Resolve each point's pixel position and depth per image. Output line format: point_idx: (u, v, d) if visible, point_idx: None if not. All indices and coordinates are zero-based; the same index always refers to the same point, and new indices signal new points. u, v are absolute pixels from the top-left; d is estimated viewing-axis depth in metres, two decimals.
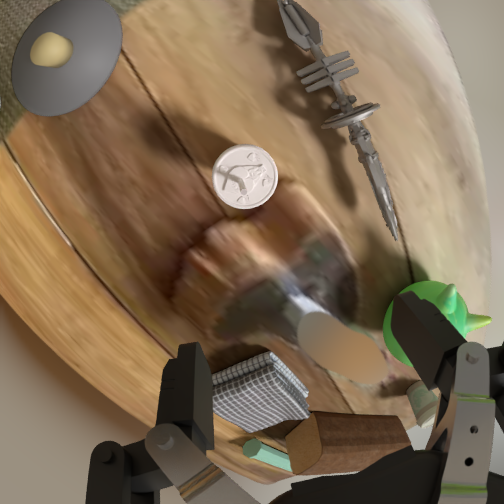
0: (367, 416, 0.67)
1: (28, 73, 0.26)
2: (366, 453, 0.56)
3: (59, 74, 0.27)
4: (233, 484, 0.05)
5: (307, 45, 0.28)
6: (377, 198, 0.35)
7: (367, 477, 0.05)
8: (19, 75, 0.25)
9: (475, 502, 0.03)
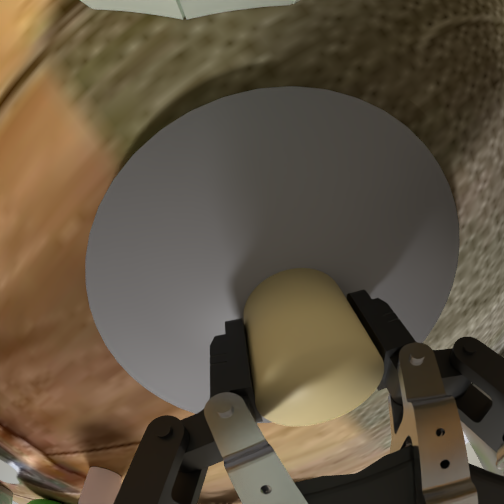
0: None
1: (263, 182, 0.10)
2: None
3: (218, 319, 0.12)
4: (279, 464, 0.05)
5: None
6: None
7: (367, 477, 0.05)
8: (270, 133, 0.09)
9: (475, 502, 0.03)
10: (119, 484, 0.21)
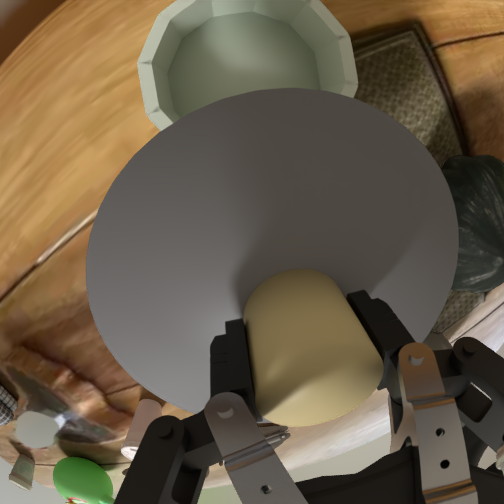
0: None
1: (263, 183, 0.10)
2: None
3: (218, 319, 0.12)
4: (279, 464, 0.05)
5: None
6: None
7: (366, 477, 0.05)
8: (270, 134, 0.09)
9: (475, 502, 0.03)
10: (161, 411, 0.39)
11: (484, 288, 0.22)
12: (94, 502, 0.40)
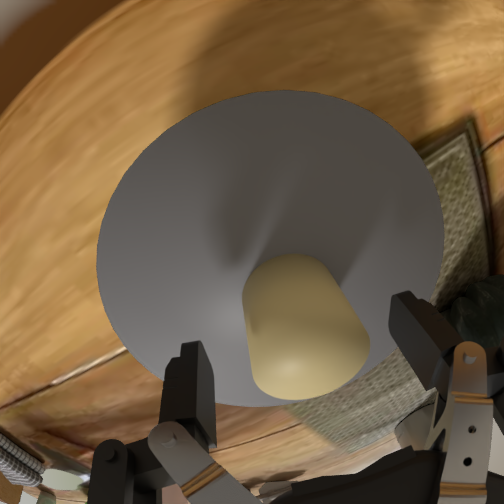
0: None
1: (259, 175, 0.11)
2: None
3: (218, 301, 0.14)
4: (235, 483, 0.05)
5: (261, 498, 0.41)
6: None
7: (367, 477, 0.05)
8: (265, 132, 0.11)
9: (475, 502, 0.03)
10: None
11: None
12: None
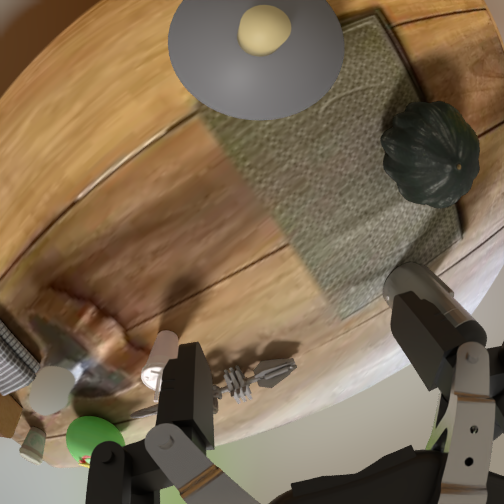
0: None
1: None
2: None
3: (226, 37, 0.23)
4: (233, 484, 0.05)
5: (256, 377, 0.50)
6: (156, 407, 0.50)
7: (366, 477, 0.05)
8: None
9: (475, 502, 0.03)
10: None
11: (445, 197, 0.30)
12: None
